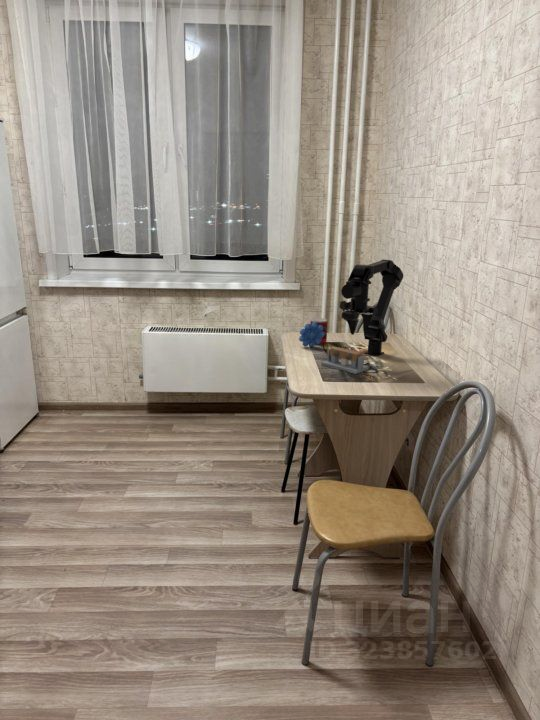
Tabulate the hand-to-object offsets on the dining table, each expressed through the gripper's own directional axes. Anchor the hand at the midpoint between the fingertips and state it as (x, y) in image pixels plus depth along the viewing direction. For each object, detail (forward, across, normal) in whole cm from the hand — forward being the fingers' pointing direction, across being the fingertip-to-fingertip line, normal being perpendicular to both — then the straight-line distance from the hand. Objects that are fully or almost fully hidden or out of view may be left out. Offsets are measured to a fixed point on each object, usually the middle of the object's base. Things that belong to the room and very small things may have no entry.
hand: (358, 332), depth 224 cm
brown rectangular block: (+8, +12, +2) cm, 14 cm away
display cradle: (+12, +12, +2) cm, 17 cm away
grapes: (+12, -3, -27) cm, 30 cm away
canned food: (+12, -12, -30) cm, 35 cm away
